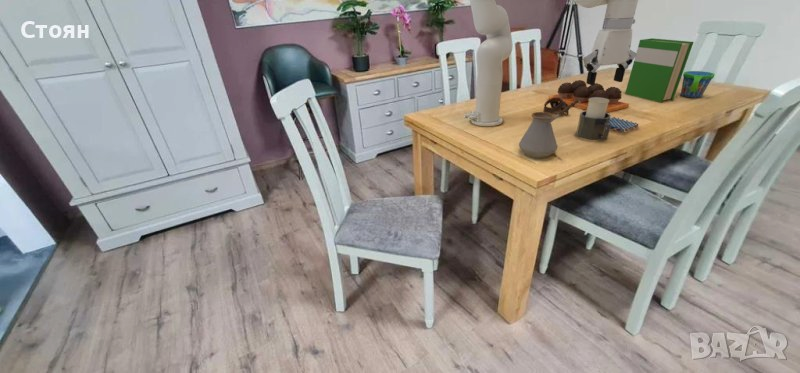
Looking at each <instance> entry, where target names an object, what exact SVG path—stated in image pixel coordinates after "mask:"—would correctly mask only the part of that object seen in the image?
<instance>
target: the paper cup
mask: <svg viewBox="0 0 800 373" xmlns="http://www.w3.org/2000/svg"><path fill="white" fill-rule="evenodd" d="M588 101H589V103H588V107H587V110H586V111H587V112H586V117H590V118H604V117H605V113H606V110H607V106H608V103H609V99H606V98H600V97H593V98H589V100H588Z"/></svg>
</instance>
